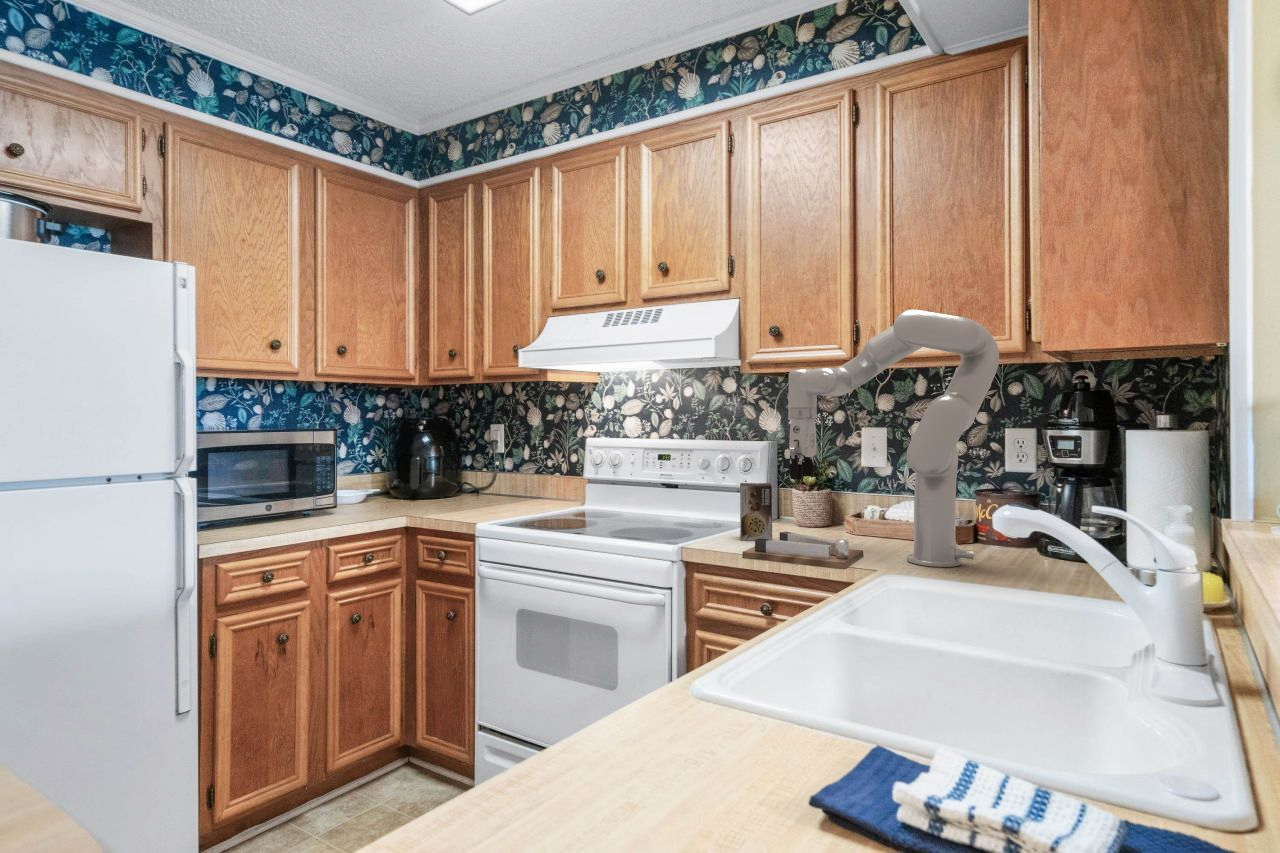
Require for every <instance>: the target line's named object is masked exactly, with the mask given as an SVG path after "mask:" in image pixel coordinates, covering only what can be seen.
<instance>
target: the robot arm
mask: <svg viewBox="0 0 1280 853" xmlns="http://www.w3.org/2000/svg"><path fill="white" fill-rule="evenodd" d="M922 348H927V349H931V350H935V351H936V350H937V351H942V352H946V353H952V354H956V355H959V357H960V363H959V364H958V366H957V369H956V370H955V372H954V373H953V375H952V377H951V380H950V382H949V384H948V386H947V388H946V390H945V392H944V394H941V395H939V396H937V397H936V398H934V399H933V400H932V401H931V402H930V403H929V404H928V406H927V407H926V409H925V410H924V413H923V415H922V417H921V420H920V421H919V423H918V425H917V428H916V429H915V431H914V434H913V436H912V438H911V440H910V442H909V444H908V447H907V449H906V462H907V464H908V466H909V467H910V469H911V470H912V471H913V472H915V480H914V491H913V492H914V499H913V500H914V501H913V553H909V554H907V556H906V560H907V562H909V563H912V564H914V565H920V566H924V567H925V566H926V567H934V568H936V567H937V568H951V567H953V568H954V567H958V566H961V565H962V559H967V560H975V551H973V550H969V549H960V548H958V546H959V544H958V543H956V501H957V478H958V477H957V476H958V467H959V466H958V465H959V455H958V454H959V453H958V449H957V444H958V442H959V440H960V438H961V436H962V435H963V433H964V432H965V431H967V430H969V428H970V427H972V425H973V424H974V421H975V419H976V416H977V415H978V412H979V410H980V408H981V406H982V404H983V403H984V400H985V397H986V396H987V393H988V391H989V389H990V386H991V385H992V382H993V381H994V378H995V375H996V374H997V371H998V368H999V363H1000V350H999V347H998V343H997V342H996V339H995V338H994V336H993V335H992V334H991V333H990V332H989V330H988V329H987V328H986V327H985V326H983V325H982V324H981V323H980V322H978V321H975V320H973V319H971V318H968V317H966V316H965V317H964V316H959V315H952V314H945V313H939V312H933V311H932V312H931V311H927V310H921V309H916V308H915V309H914V308H913V309H912V308H911V309H907V310H905V311H903V312H901V313H900V314H899V315H898V316H897V317H896V318H895V319H894V323H893V325H891V326H889V327H888V328H886V329H884V330H883V331H882V332H880V333H878V334H876V335H875V336H873V337H871V338H869V339H868V340H867V341H866V342H865V343H864V347H863V348H862V350H861V352H860V353H859V354H857V355H856V356H855V357H853V358H852V359H850V360H848V361H847V362H845V363H844V364H842V365H840V366H839V367H837V368H835V367H820V368H815V369H814V368H813V369H808V368H801V369H799V368H797V369H792V370H790V372H789V373H788V418H787V419H788V421H790V424H789V425H790V426H789V427H790V428H789V445H788V446H789V459H790V460H789V478H790V480H798V481H799V480H802V479H803V477H814V456H816V455H817V454H818V453H817V452H818V451H817V450H818V449H817V448H818V446H817V444H818V442H817V428H816V421H817V417H818V416H817V412H818V411H817V410H818V409H817V407H818V402H817V401H818V399H817V398H818V397H817V396H822V397H841V396H845V395H847V394H849V393H850V392H852V391H854V390H855V389H857V388H859V387H861V386H863V385H865V384H866V383H868V382H869V381H871V380H872V379H874V378H875V377H876V376H878V375H879V374H881V373H882V372H883V371H884V370H886V369H887V368H889V367H891V366H892V365H894V364H896V363H897V362H899V361H901V360H902V359H905V358H906V357H908V356H910V355H911V354H914V353H915V352H917V351H919V350H921V349H922ZM961 558H962V559H961Z"/></svg>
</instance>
